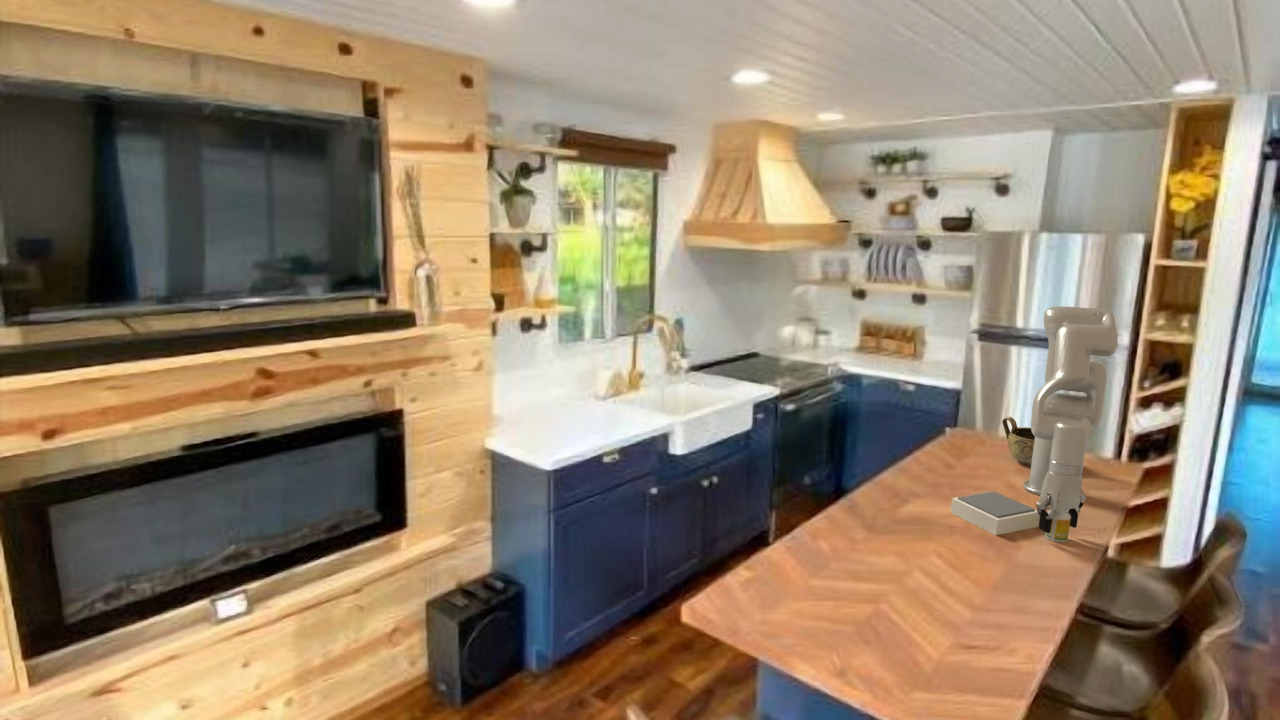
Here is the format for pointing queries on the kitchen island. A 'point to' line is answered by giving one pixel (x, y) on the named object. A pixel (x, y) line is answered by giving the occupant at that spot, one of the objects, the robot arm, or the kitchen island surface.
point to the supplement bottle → (1059, 526)
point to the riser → (995, 512)
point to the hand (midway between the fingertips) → (1057, 528)
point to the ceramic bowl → (1019, 441)
